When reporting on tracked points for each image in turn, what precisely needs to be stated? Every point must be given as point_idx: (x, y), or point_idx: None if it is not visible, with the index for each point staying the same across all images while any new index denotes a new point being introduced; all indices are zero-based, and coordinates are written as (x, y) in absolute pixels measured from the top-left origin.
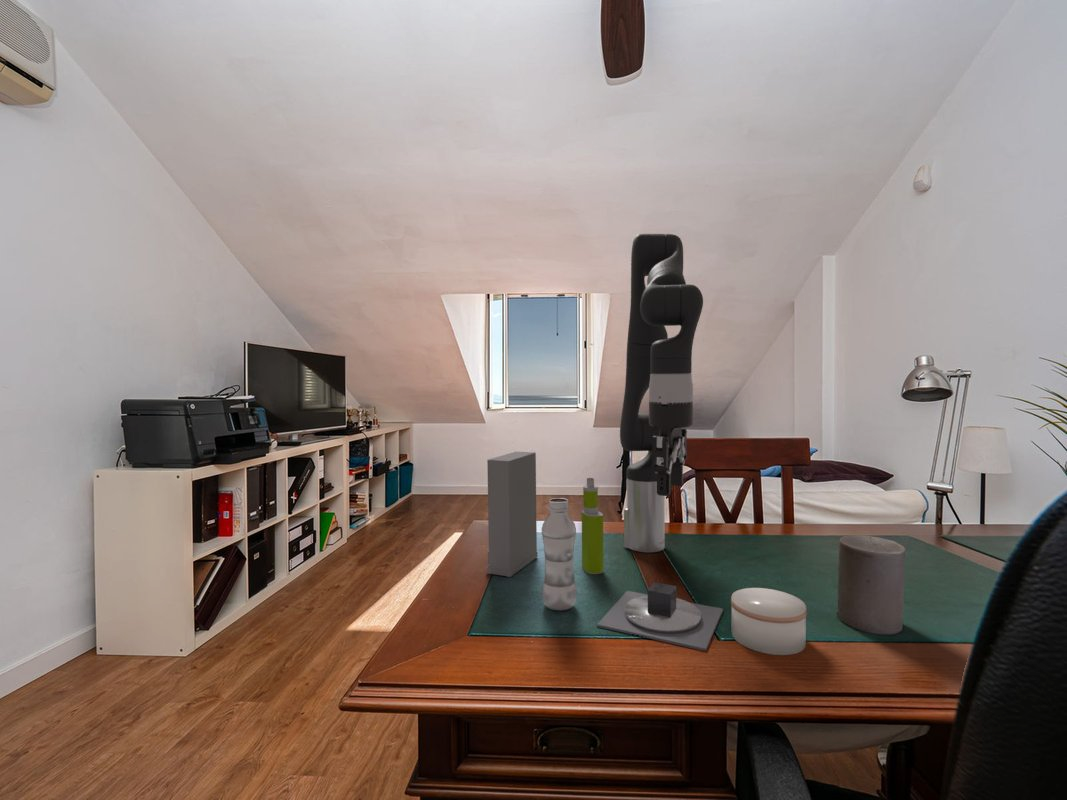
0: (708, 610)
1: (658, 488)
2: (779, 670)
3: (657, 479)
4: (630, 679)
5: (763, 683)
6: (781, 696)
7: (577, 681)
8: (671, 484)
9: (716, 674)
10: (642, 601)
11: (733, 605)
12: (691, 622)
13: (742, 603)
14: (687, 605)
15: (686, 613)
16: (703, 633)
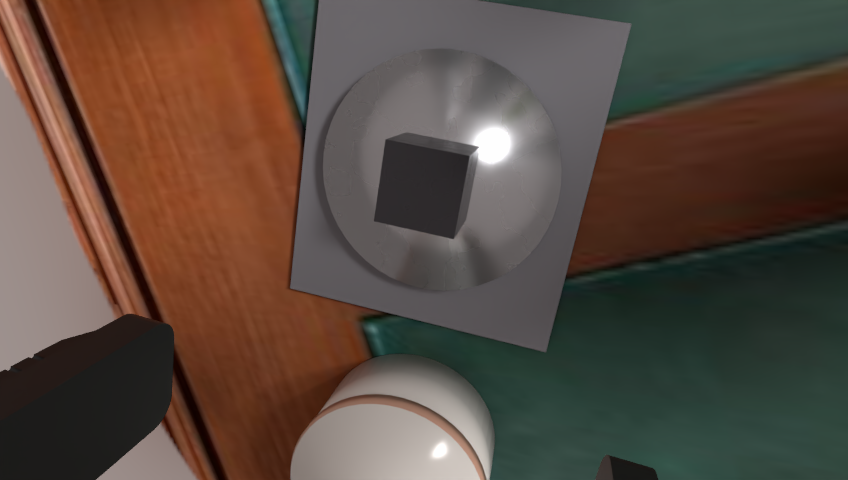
0: (520, 310)
1: (51, 352)
2: (270, 421)
3: (7, 386)
4: (117, 122)
5: (212, 383)
6: (183, 404)
7: (60, 3)
8: (604, 463)
9: (207, 300)
10: (491, 104)
11: (351, 400)
12: (381, 262)
13: (344, 427)
14: (499, 254)
15: (437, 250)
16: (366, 287)
